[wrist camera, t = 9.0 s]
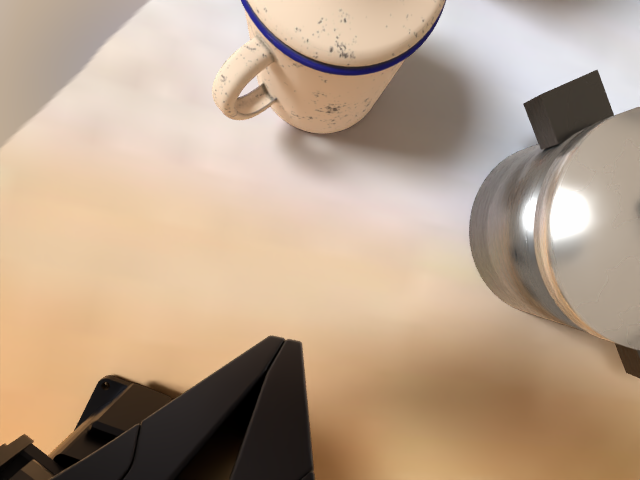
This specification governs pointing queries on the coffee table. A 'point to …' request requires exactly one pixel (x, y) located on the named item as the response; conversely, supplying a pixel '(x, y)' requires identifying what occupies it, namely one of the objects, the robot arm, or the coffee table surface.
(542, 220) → the lid
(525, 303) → the pot
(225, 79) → the teacup with lid
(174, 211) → the coffee table surface
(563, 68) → the coffee table surface
